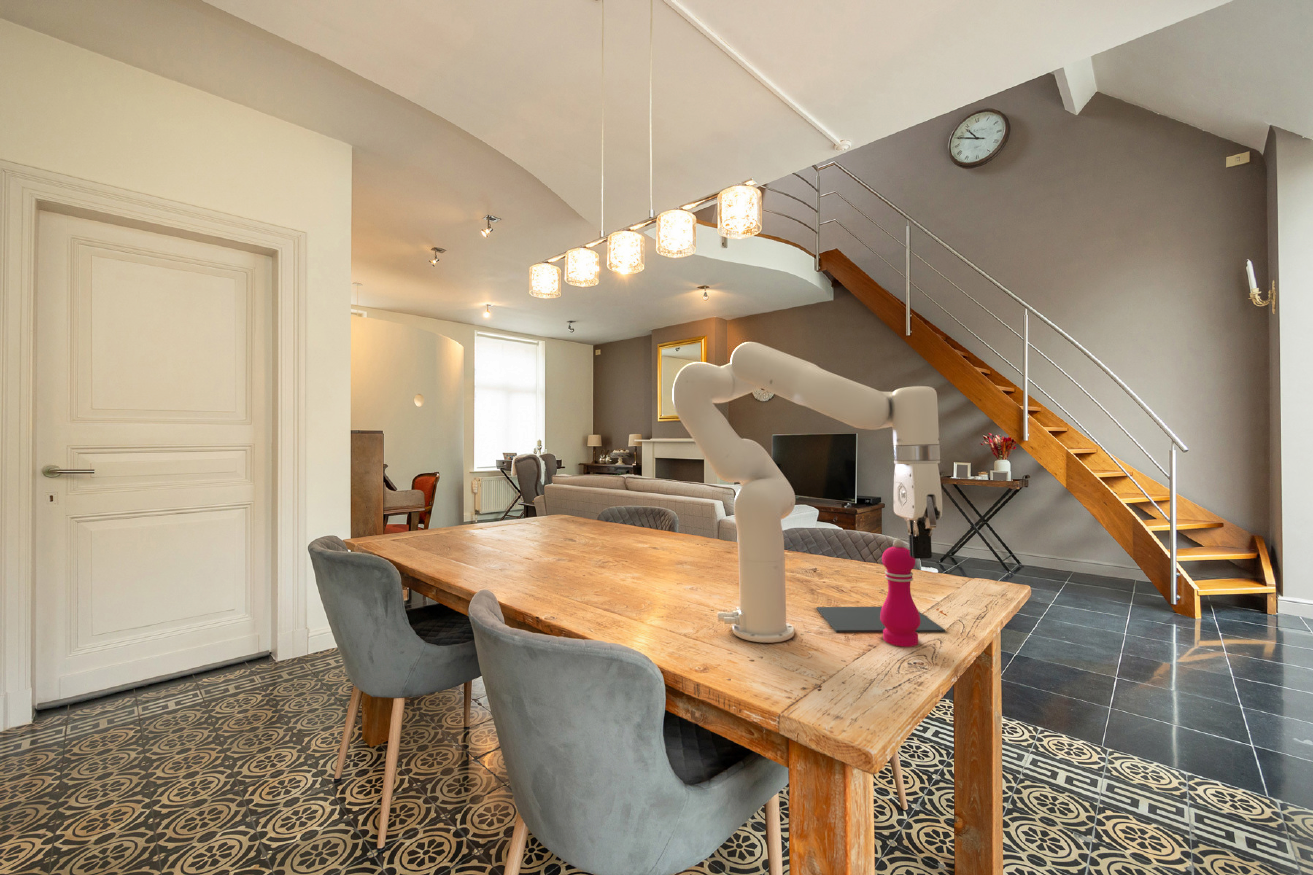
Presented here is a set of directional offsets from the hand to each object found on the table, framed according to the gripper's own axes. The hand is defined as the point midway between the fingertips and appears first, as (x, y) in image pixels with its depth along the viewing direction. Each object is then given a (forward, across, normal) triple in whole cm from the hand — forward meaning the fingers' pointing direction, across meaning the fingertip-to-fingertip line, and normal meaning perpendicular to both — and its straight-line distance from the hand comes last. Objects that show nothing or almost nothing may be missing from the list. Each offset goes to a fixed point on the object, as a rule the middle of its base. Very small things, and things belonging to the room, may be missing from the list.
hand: (920, 557), depth 96 cm
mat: (+18, -22, -1) cm, 29 cm away
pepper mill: (+18, -9, -1) cm, 21 cm away
